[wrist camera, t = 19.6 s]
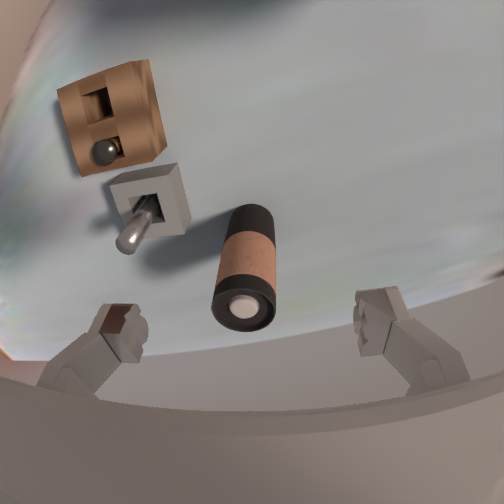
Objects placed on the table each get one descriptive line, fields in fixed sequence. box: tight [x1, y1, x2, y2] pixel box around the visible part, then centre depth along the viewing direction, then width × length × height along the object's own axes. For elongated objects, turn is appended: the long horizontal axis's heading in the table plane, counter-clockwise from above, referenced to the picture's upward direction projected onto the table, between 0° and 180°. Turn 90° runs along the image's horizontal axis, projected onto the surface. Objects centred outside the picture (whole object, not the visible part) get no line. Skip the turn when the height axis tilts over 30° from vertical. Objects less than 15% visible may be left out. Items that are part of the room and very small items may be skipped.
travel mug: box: [211, 204, 276, 332], centre depth 44 cm, size 8×8×20 cm
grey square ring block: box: [109, 163, 191, 239], centre depth 48 cm, size 10×10×5 cm
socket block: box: [57, 60, 167, 177], centre depth 39 cm, size 14×12×7 cm
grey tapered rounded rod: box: [116, 193, 161, 255], centre depth 44 cm, size 3×3×14 cm
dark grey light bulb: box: [92, 136, 123, 166], centre depth 40 cm, size 4×4×8 cm
